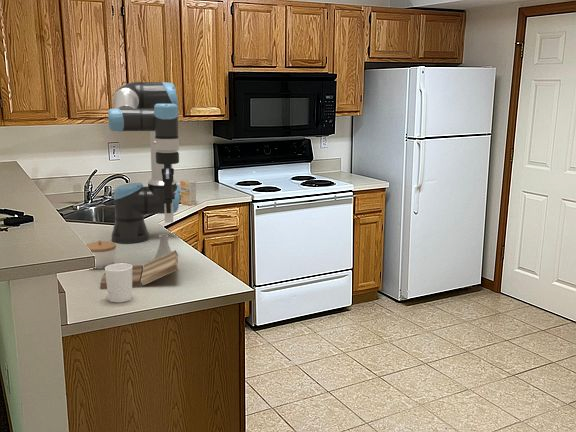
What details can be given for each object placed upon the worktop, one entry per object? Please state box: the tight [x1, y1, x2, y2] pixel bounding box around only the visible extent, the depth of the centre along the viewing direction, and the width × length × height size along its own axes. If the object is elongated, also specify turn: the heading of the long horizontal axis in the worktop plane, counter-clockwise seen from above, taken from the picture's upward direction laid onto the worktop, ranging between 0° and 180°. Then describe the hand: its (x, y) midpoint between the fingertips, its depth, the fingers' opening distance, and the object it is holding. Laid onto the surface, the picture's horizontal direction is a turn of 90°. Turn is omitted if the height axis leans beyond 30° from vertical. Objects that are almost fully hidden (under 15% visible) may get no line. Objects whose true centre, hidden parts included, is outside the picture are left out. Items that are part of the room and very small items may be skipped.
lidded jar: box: [85, 240, 117, 270], centre depth 207 cm, size 11×11×9 cm
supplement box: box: [179, 179, 197, 207], centre depth 321 cm, size 8×5×13 cm, turn 50°
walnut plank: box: [99, 264, 144, 290], centre depth 194 cm, size 18×12×2 cm, turn 10°
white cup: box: [104, 262, 133, 303], centre depth 175 cm, size 8×8×10 cm
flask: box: [153, 233, 172, 260], centre depth 213 cm, size 7×7×10 cm
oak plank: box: [141, 249, 179, 286], centre depth 195 cm, size 18×12×2 cm, turn 10°
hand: (169, 220), depth 197 cm, fingers open, 5 cm apart
